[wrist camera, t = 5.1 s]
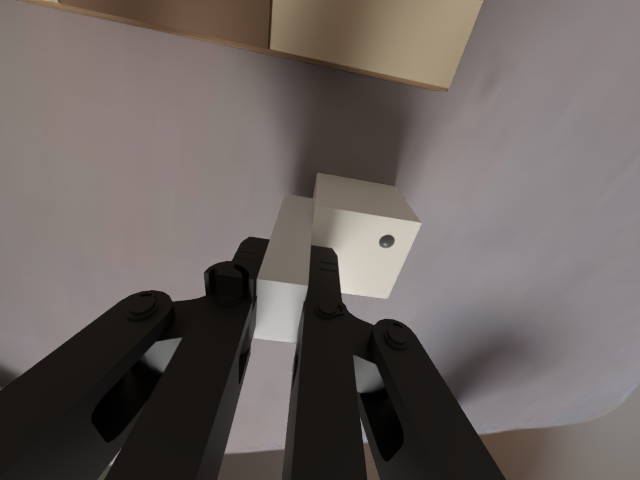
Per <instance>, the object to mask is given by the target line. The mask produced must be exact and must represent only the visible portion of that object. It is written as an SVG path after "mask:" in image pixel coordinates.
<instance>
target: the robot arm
mask: <svg viewBox="0 0 640 480" xmlns="http://www.w3.org/2000/svg"><path fill="white" fill-rule="evenodd" d="M313 206H314V199H313V198H307V197H301V196H295V195H289V194H285V196H284V199H283V202H282V205H281V208H280V211H279V214H278V217H277V220H276V223H275V226H274V229H273V232H272V235H271V238H270V240H269V239H263V238H256V237H248V238H247V239H245V240H244V241H243V242H241V244H240V246H239V248H238V250H237V252H236V253H235V255H234V258H233V259H232V261H225V262H220V263H217V264H215V265H213V266H211V267H209V268H208V269H207V270H206V271H205V272H204V280H205V290H206V296H203V297H200V298H197V299H192V300H184V301H175V302H172V300H171V298H170V296H169V295H167V294H166V293H164V292H161V291H155V290H151V291H142V292H139V293H136V294H132V295H130V296H128V297H127V298H125V299H123V300H121V301H120V302H118V303H117V304H116V305H114V306H113V307H112V308H110V309H109V310H108V311H106V312H105V313H104V314H102V315H101V316H100V317H98V318H97V319H96V320H94V321H93V322H92V323H90V324H89V325H88V326H86V327H85V328H84V329H82V330H81V331H80V332H78V333H77V334H76V335H74V336H73V337H72V338H70V339H69V340H68V341H66V342H65V343H64V344H62V345H61V346H60V347H58V348H57V349H56V350H54V351H53V352H52V353H50V354H49V355H48V356H46V357H45V358H44V359H42V360H41V361H40V362H38V363H37V364H36V365H34V366H33V367H32V368H30V369H29V370H28V371H26V372H25V373H24V374H22V375H21V376H20V377H18V378H17V379H16V380H14V381H13V382H12V383H10V384H9V385H8V386H6V387H5V388H4V389H2V390H1V391H0V480H97V479H98V478H99V476H100V475H101V474H102V473H103V471H104V470H105V469H106V467H107V466H108V465H109V464H110V462H111V461H112V460H113V458H114V457H115V456H116V454H117V453H118V452H119V451H120V452H119V454H118V456H117V457H116V459H115V461H114V463H113V465H112V467H111V468H110V470H109V472H108V474H107V476H106V477H105V479H104V480H217V479H218V475H219V471H220V467H221V464H222V460H223V456H224V452H225V448H226V445H227V441H228V437H229V433H230V429H231V426H232V422H233V418H234V414H235V410H236V407H237V403H238V399H239V395H240V391H241V388H242V384H243V380H244V376H245V372H246V368H247V365H248V361H249V357H250V350H251V342H252V338H253V334H254V338H257V339H265V340H274V341H283V342H292V343H297V345H296V352H295V357H294V362H293V367H292V372H293V374H292V384H291V394H290V403H289V413H288V423H287V433H286V442H285V452H284V462H283V471H282V480H367V473H366V464H365V456H364V448H363V438H362V429H361V421H362V424H363V427H364V430H365V433H366V437H367V440H368V443H369V446H370V449H371V452H372V456H373V459H374V462H375V465H376V468H377V471H378V474H379V478H380V480H506V479H505V477H504V476H503V474H502V473H501V471H500V469H499V468H498V466H497V465H496V463H495V461H494V460H493V458H492V457H491V455H490V453H489V452H488V450H487V449H486V447H485V446H484V444H483V442H482V441H481V439H480V437H479V436H478V434H477V433H476V431H475V429H474V428H473V426H472V425H471V423H470V421H469V420H468V418H467V417H466V415H465V413H464V412H463V410H462V409H461V407H460V405H459V404H458V402H457V401H456V399H455V397H454V396H453V394H452V393H451V391H450V389H449V388H448V386H447V385H446V383H445V381H444V380H443V378H442V377H441V375H440V373H439V372H438V370H437V369H436V367H435V365H434V364H433V362H432V361H431V359H430V357H429V356H428V354H427V353H426V351H425V349H424V348H423V346H422V345H421V343H420V341H419V340H418V338H417V337H416V335H415V334H414V333H413V332H412V330H411V329H410V328H409V327H407V326H406V325H404V324H403V323H401V322H399V321H396V320H393V319H383V320H380V321H378V322H377V323H376V324H375V325H372V324H370V323H368V322H365V321H363V320H360V319H358V318H356V317H355V316H353V315H352V314H351V313H349V311H348V310H347V308H346V306H345V304H344V303H343V302H342V297H341V286H340V276H339V266H338V256H337V254H336V253H335V251H334V250H333V249H332V248H328V247H322V246H315V245H311V236H312V221H313ZM360 418H361V421H360ZM120 449H121V450H120Z"/></svg>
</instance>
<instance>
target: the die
mask: <svg viewBox="0 0 640 480" xmlns="http://www.w3.org/2000/svg"><path fill="white" fill-rule="evenodd" d="M313 199H314V206H313V221H312V236H311V245H315V246H322V247H328V248H332V249H333V250H334V251H335V253H336V254H337V256H338V266H339V276H340V286H341V293H346V294H354V295H362V296H369V297H377V298H384V299H388V297H389V295H390V293H391V290H392V288H393V286H394V284H395V282H396V279H397V277H398V275H399V273H400V270H401V268H402V266H403V264H404V262H405V259H406V257H407V255H408V253H409V251H410V248H411V246H412V244H413V242H414V239H415V237H416V235H417V233H418V231H419V228H420V226H421V224H422V222H421V221H420V220H419V218H418V217H417V216H416V214H415V213H414V212H413V210H412V209H411V207H410V206H409V205H408V203H407V202H406V201H405V199H404V198H403V197H402V195H401V194H400V193H399V191H398V190H397V188H396V187H395V186H391V185H385V184H380V183H374V182H368V181H363V180H357V179H351V178H346V177H340V176H334V175H329V174H323V173H317V176H316V182H315V188H314V194H313Z"/></svg>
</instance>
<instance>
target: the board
mask: <svg viewBox="0 0 640 480" xmlns="http://www.w3.org/2000/svg"><path fill="white" fill-rule="evenodd" d="M18 1H23V2H27V3H32V4H37V5H41V6H46V7H50V8H55V9H60V10H64V11H69V12H74V13H78V14H83V15H87V16H92V17H97V18H101V19H106V20H111V21H115V22H120V23H124V24H129V25H134V26H138V27H143V28H148V29H152V30H157V31H161V32H166V33H171V34H175V35H180V36H185V37H189V38H194V39H198V40H203V41H208V42H212V43H217V44H222V45H226V46H231V47H235V48H240V49H245V50H249V51H254V52H259V53H263V54H268V55H272V56H277V57H282V58H286V59H291V60H296V61H300V62H305V63H309V64H314V65H319V66H323V67H328V68H333V69H337V70H342V71H346V72H351V73H356V74H360V75H365V76H370V77H374V78H379V79H383V80H388V81H393V82H397V83H402V84H407V85H411V86H416V87H420V88H425V89H430V90H434V91H448V88H450V85H451V83H452V80H453V78H454V75H455V73H456V70H457V67H458V65H459V62H460V60H461V57H462V55H463V52H464V49H465V47H466V44H467V42H468V39H469V37H470V34H471V31H472V29H473V26H474V24H475V21H476V19H477V16H478V13H479V11H480V8H481V6H482V3H483V1H484V0H18Z"/></svg>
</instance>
